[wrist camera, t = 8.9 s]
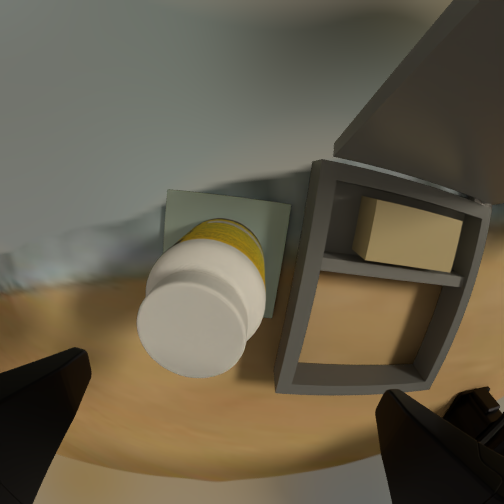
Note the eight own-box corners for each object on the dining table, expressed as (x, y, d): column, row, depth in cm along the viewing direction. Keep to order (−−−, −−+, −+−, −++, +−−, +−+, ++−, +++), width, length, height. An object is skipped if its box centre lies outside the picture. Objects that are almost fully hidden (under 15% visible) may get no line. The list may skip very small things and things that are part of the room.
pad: (271, 315, 20) (271, 318, 20) (163, 299, 20) (161, 302, 20) (290, 204, 18) (291, 205, 18) (169, 189, 18) (167, 189, 18)
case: (416, 371, 22) (430, 392, 19) (273, 370, 22) (275, 396, 19) (470, 203, 18) (495, 209, 15) (312, 161, 18) (323, 158, 14)
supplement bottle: (196, 204, 18) (134, 236, 8) (275, 233, 18) (295, 294, 9) (173, 279, 19) (112, 362, 10) (246, 305, 20) (239, 408, 10)
